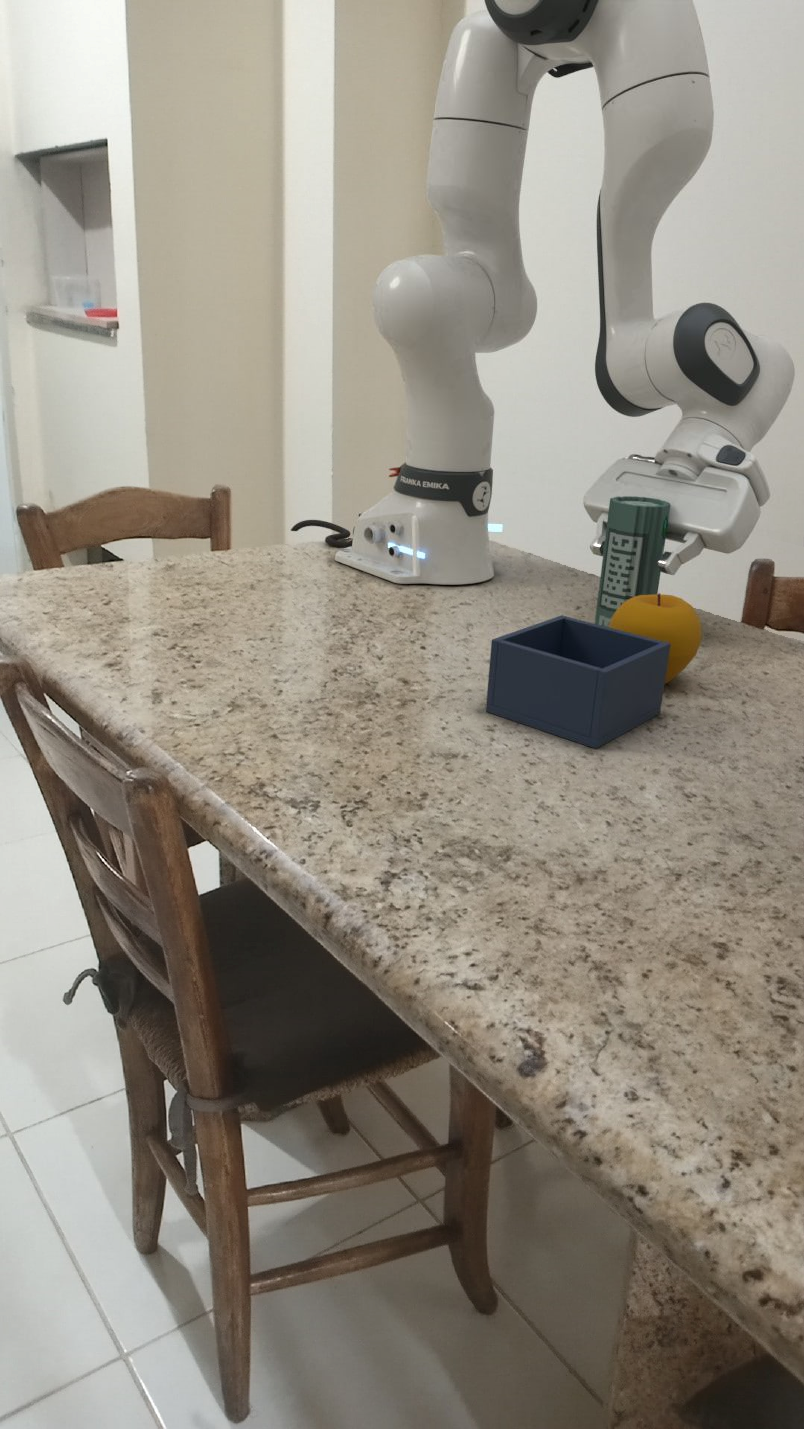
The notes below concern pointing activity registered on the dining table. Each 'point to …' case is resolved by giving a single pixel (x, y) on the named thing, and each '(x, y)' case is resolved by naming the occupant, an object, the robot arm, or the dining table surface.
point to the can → (631, 552)
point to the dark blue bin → (577, 679)
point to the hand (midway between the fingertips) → (629, 561)
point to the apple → (662, 626)
